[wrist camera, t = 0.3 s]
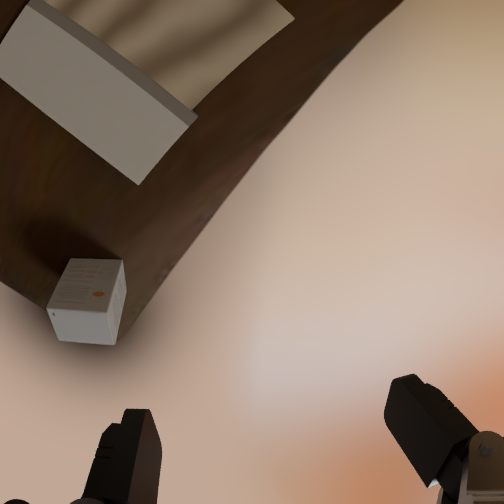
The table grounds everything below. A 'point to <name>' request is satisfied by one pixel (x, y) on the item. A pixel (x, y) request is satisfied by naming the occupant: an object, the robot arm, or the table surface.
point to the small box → (88, 301)
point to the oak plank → (180, 36)
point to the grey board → (91, 90)
